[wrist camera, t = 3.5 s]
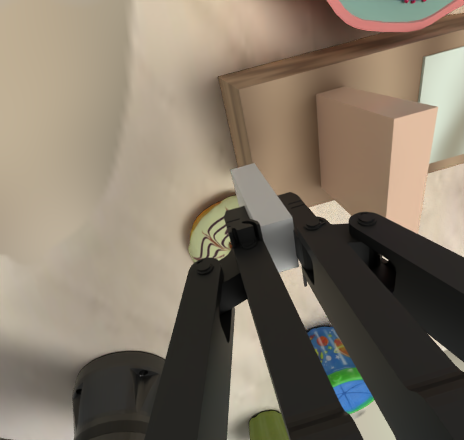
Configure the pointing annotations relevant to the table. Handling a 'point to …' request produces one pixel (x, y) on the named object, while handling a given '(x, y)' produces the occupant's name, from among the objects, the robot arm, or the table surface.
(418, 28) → the cell model
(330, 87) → the block
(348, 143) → the tile
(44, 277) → the table surface
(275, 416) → the plant pot
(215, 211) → the decorated donut
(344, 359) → the snack cup
